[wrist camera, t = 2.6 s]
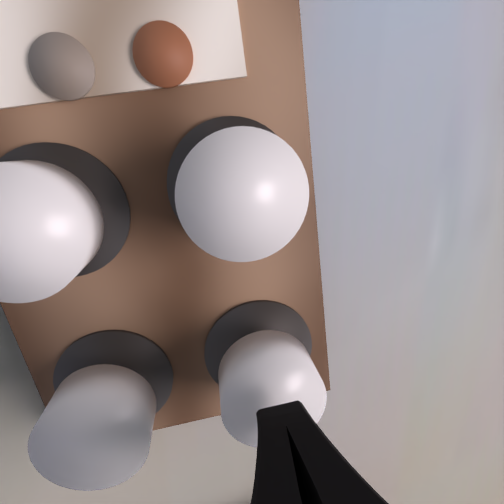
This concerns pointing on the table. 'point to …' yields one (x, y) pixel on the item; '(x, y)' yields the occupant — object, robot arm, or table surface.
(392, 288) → the table surface
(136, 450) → the button
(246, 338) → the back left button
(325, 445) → the robot arm
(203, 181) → the button
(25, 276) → the button
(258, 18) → the button board
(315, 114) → the table surface
